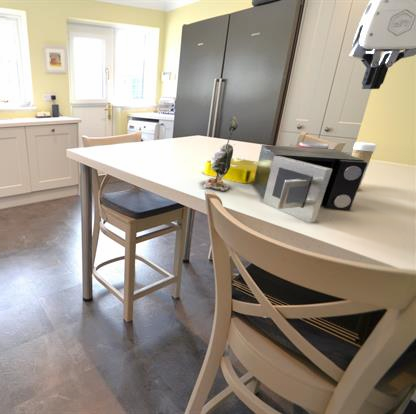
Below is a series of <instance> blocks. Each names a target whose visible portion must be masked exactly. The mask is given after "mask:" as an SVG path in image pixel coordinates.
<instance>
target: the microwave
mask: <svg viewBox="0 0 416 414" xmlns="http://www.w3.org/2000/svg"><path fill="white" fill-rule="evenodd" d="M351 155H352V154H348V153H346V152H344V151H341V150H338V149H335V148H328V149H322V148H304V147H299V146H287V145H285V146H284V145H268V144H267V145H266V144H261V147H260V151H259V157H258V161H257V162H258V165H257V169H256V174H255V178H254V181H252V186H253V187H254V188H255V189H256V191H257V192H258V194H259V195H260V196H261V198H262V199H263V200H264V196H265V192H266V188H267V184H268V179H269V175H270V171H271V167H272V163H273V159H274V156H282V157H286V158H290V159H294V160H298V161H302V162H306V163H310V164H314V165H318V166H322V167H327V168H331V169H332V172H331V175H330V178H329V181H328V184H327V187H326V190H325V193H324V196H323V199H322V202H321V206H320V207H323V208H324V209H329V210H338V211H348V212H349V211H351V208H352V205H353V202H354V200H355V198H356V194H357V193H358V191H359V190H358V187H359V184H360V182H361V179H362V176H363V174H364V171H365V168H366V166H367V162H364V160H362V159H359V158H357V157H354V156H351ZM361 183H362V182H361ZM357 190H358V191H357Z"/></svg>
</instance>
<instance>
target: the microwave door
mask: <svg viewBox="0 0 416 414" xmlns="http://www.w3.org/2000/svg"><path fill="white" fill-rule="evenodd" d="M331 172H332V169H331V168H327V167H322V166H318V165H314V164H310V163H306V162H302V161H298V160H294V159H290V158H286V157H282V156H274V159H273V163H272V167H271V171H270V175H269V179H268V184H267V188H266V192H265V196H264V199H263V200H262V203H265V204H267V205H269V206H271V207H274V208H276V209H278V210H280V211H283V212H285V213H287V214H288V215H292V216H294V217H296V218H298V219H300V220H303V221H305V222H307V223H315V222H316V221H317V218H318V215H319V211H320V209H321V207H322V206H321V202H322V199H323V196H324V193H325V190H326V187H327V184H328V181H329V178H330V175H331Z"/></svg>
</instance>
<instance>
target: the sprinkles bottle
mask: <svg viewBox="0 0 416 414" xmlns="http://www.w3.org/2000/svg"><path fill="white" fill-rule="evenodd" d="M376 148H377V143H372V142H367V141H355V142H354V144H353V147H352V153H351V154H350V155H351V156H354V157H357V158H359V159H362V160H364V162H367V166H366V168H365V171H364V174H363V176H362V179H361V182H360V184H359V187H358V190H357V192H358V191H360V188H361V185H362V182H363V180H364V178H365V176H366V172H367V170H368V167H369V165H370V161H371V159H372V156H373V154H374V152H375V150H376Z"/></svg>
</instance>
